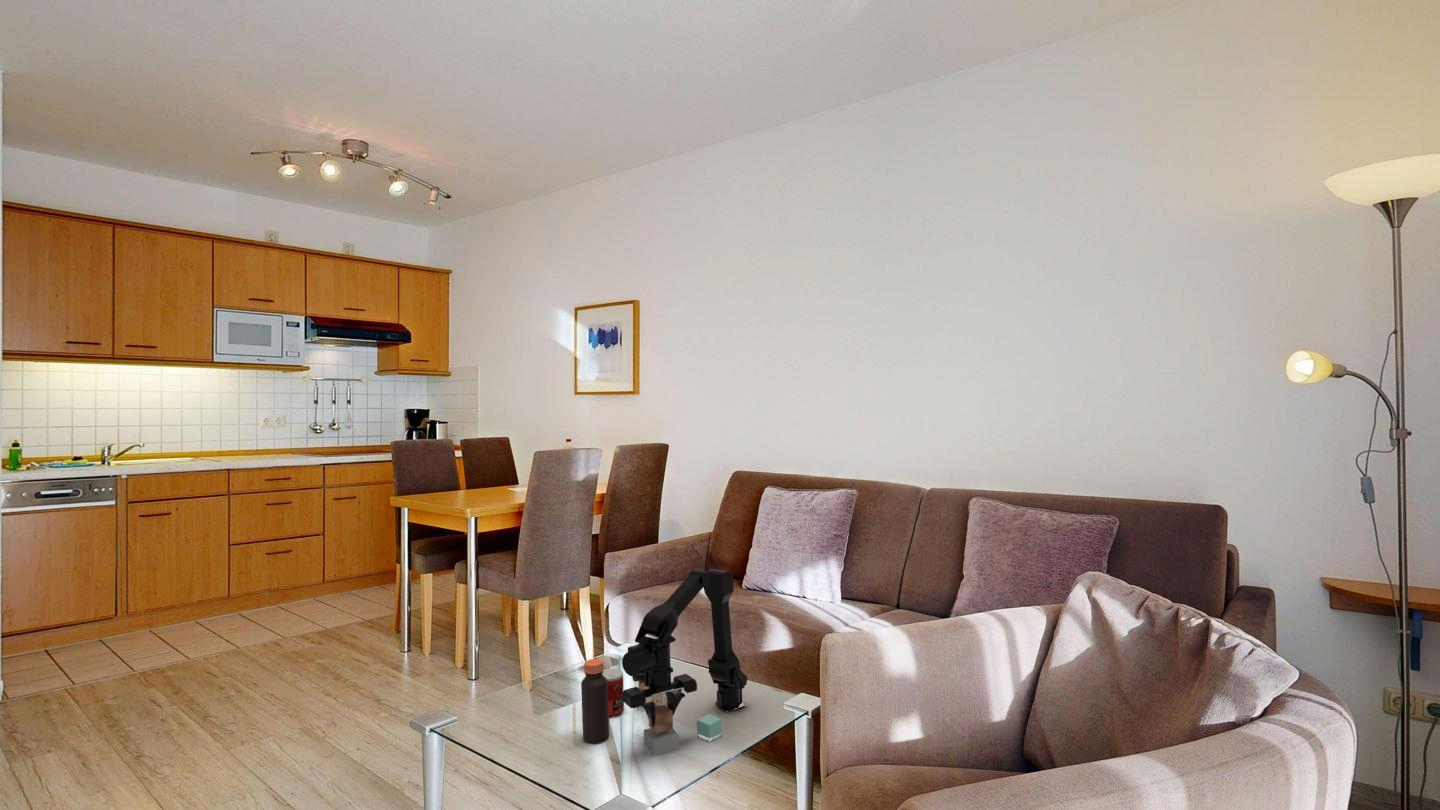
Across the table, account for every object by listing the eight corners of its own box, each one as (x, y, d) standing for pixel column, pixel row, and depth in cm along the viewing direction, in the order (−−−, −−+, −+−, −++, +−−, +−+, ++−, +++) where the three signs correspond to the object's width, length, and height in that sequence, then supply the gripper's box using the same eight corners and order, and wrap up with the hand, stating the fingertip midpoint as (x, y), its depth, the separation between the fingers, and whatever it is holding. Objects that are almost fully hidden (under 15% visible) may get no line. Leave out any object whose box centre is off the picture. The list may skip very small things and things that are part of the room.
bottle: (587, 746, 190) (585, 669, 189) (579, 735, 196) (577, 660, 195) (612, 740, 193) (610, 664, 192) (604, 729, 199) (602, 655, 198)
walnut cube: (664, 721, 192) (664, 704, 192) (672, 728, 188) (672, 710, 188) (648, 726, 189) (648, 708, 189) (656, 733, 186) (656, 715, 185)
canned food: (618, 719, 205) (617, 679, 204) (591, 717, 206) (590, 678, 206) (627, 706, 212) (626, 669, 212) (601, 705, 214) (600, 667, 213)
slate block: (669, 738, 193) (669, 723, 193) (679, 750, 187) (679, 735, 187) (643, 745, 190) (643, 729, 190) (653, 757, 184) (652, 741, 184)
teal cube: (709, 730, 197) (709, 714, 197) (721, 736, 194) (721, 719, 194) (697, 736, 194) (696, 720, 194) (709, 742, 191) (709, 725, 190)
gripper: (676, 645, 200) (678, 702, 200) (612, 661, 190) (614, 721, 191) (697, 658, 190) (698, 718, 191) (630, 675, 180) (632, 738, 181)
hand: (660, 723), depth 189 cm, fingers closed on walnut cube, 4 cm apart
